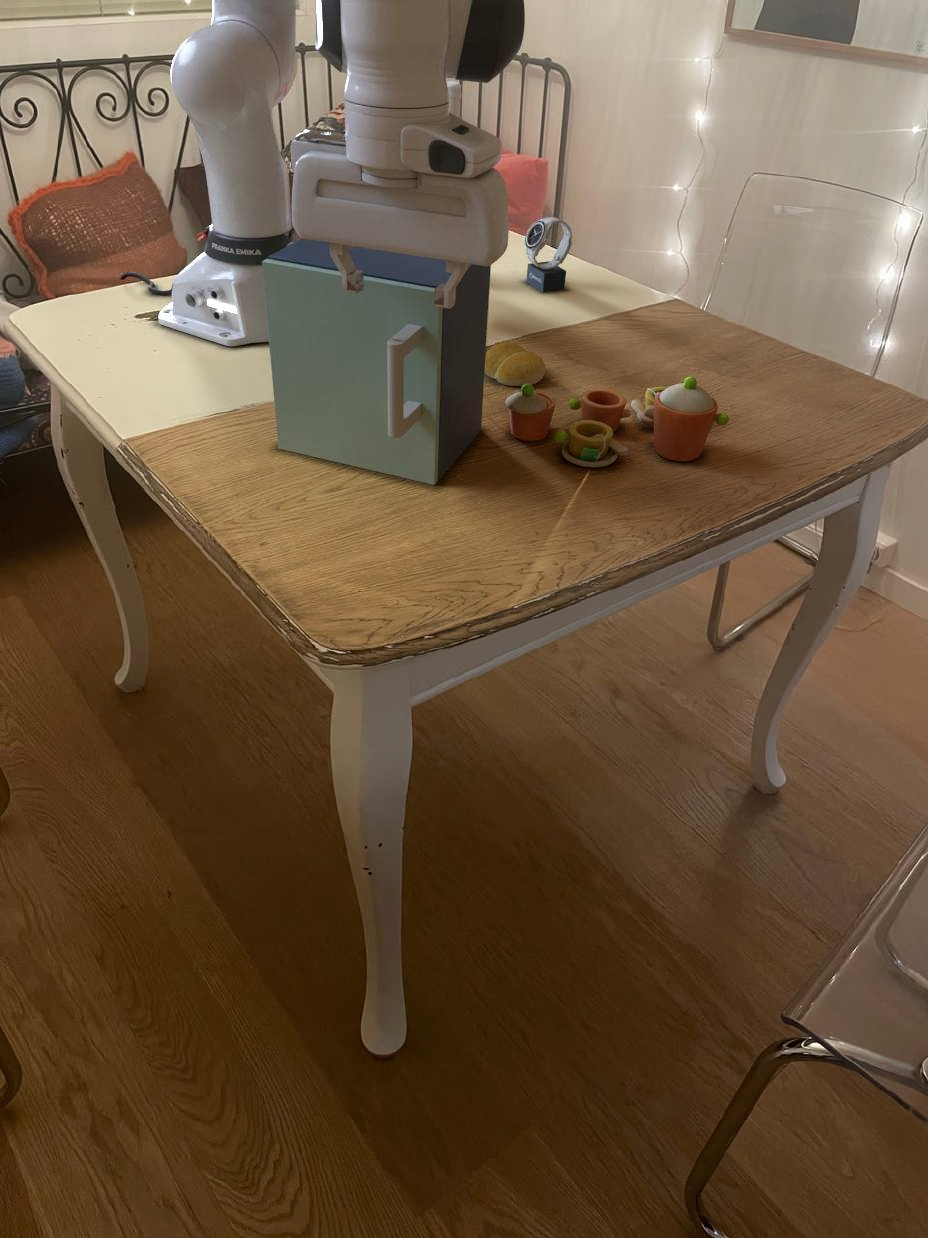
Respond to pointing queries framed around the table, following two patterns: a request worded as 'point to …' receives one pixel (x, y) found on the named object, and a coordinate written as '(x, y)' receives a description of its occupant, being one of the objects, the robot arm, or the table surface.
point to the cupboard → (459, 331)
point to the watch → (549, 272)
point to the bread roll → (513, 365)
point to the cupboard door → (355, 369)
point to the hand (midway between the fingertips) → (398, 298)
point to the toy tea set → (670, 410)
